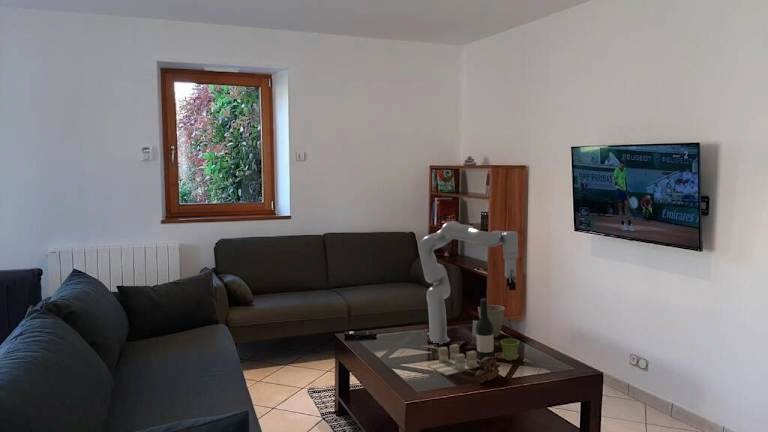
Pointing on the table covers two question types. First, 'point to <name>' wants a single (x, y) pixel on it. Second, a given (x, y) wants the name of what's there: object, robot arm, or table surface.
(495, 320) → the plant pot
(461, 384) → the table surface
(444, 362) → the rest
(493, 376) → the wooden carving
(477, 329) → the wine bottle
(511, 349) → the plant pot
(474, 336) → the smart speaker
